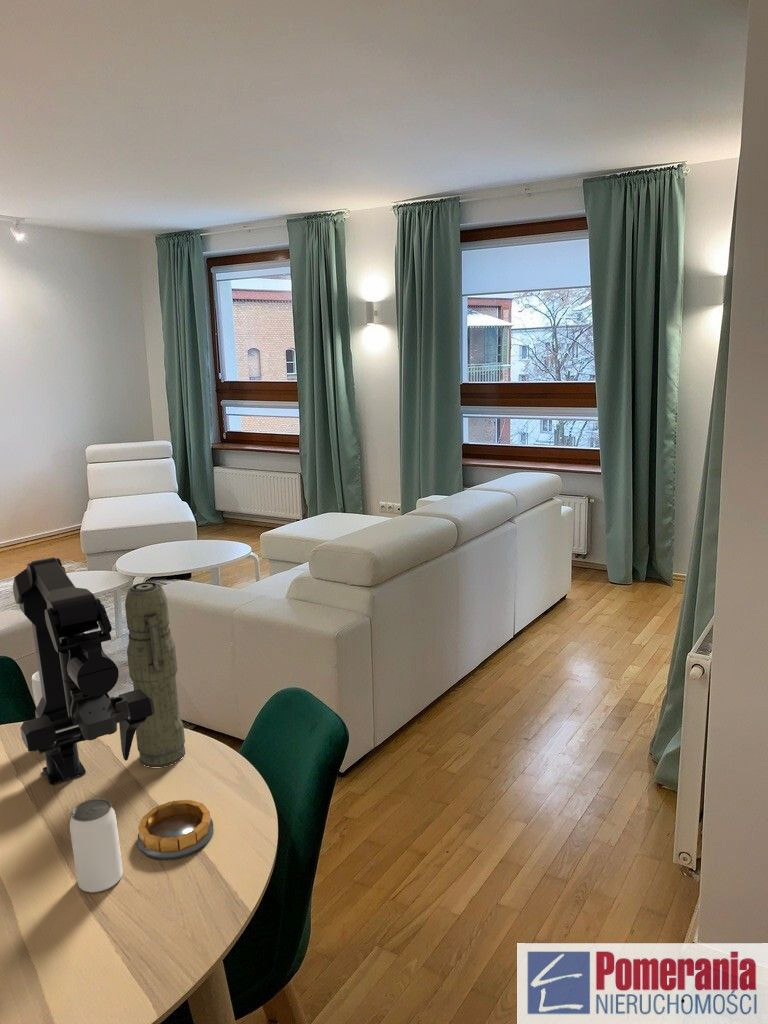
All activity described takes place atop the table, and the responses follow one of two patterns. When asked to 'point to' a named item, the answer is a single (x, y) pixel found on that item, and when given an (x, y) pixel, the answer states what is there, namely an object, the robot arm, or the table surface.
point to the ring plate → (175, 830)
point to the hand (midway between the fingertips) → (96, 769)
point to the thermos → (154, 674)
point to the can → (95, 845)
